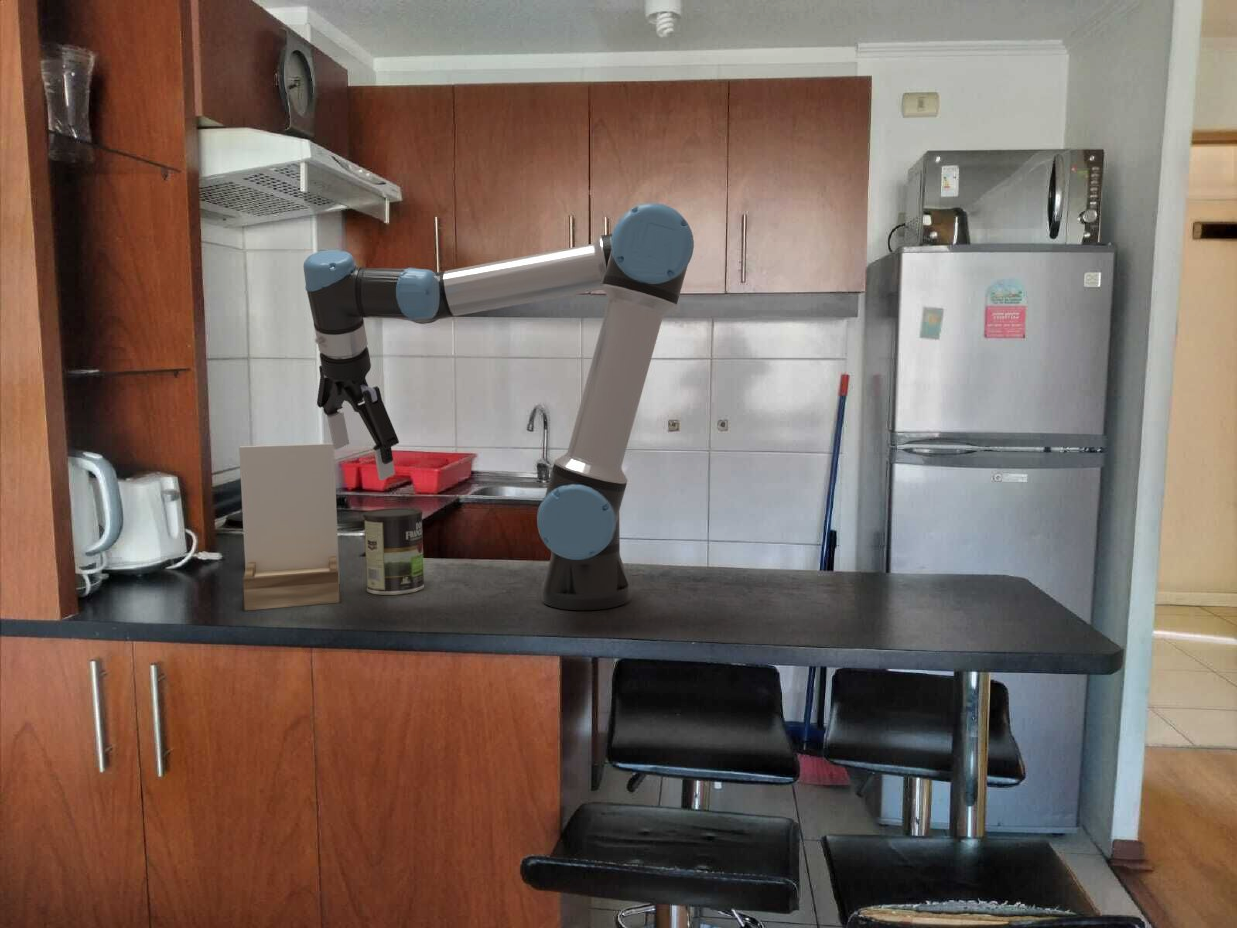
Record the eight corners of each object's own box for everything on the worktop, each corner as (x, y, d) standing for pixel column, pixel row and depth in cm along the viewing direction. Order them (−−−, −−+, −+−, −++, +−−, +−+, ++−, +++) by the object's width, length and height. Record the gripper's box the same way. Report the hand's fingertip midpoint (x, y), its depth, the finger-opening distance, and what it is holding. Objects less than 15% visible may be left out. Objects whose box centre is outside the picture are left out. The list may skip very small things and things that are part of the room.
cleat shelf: (339, 602, 159) (338, 571, 158) (244, 610, 154) (243, 578, 153) (336, 584, 172) (335, 556, 171) (249, 591, 167) (248, 562, 166)
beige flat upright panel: (339, 584, 172) (333, 444, 169) (246, 591, 167) (239, 447, 164) (339, 581, 174) (333, 443, 171) (247, 589, 169) (239, 446, 166)
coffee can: (433, 583, 172) (431, 507, 171) (410, 596, 162) (407, 516, 161) (381, 581, 174) (379, 506, 173) (355, 594, 164) (352, 515, 163)
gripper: (280, 332, 152) (304, 442, 164) (368, 384, 138) (388, 499, 150) (321, 318, 156) (341, 426, 168) (410, 366, 142) (426, 480, 154)
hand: (363, 461), depth 159 cm, fingers open, 13 cm apart
